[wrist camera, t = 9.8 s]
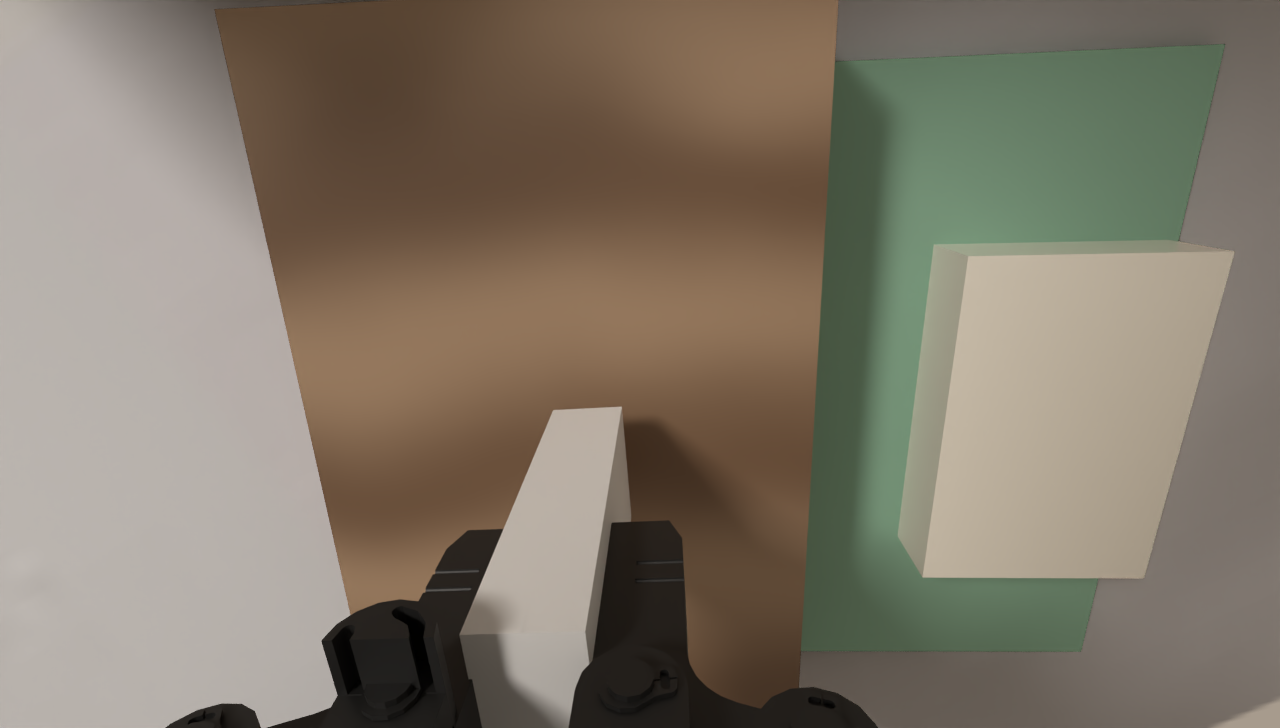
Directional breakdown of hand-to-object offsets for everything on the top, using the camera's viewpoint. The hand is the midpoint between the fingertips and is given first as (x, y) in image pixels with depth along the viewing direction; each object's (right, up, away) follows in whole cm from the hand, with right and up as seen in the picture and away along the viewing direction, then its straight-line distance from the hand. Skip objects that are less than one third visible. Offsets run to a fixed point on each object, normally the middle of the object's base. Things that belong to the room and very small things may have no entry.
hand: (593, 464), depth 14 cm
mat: (+10, +1, +4) cm, 11 cm away
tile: (+12, +1, +2) cm, 12 cm away
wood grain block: (-1, +1, +5) cm, 5 cm away
